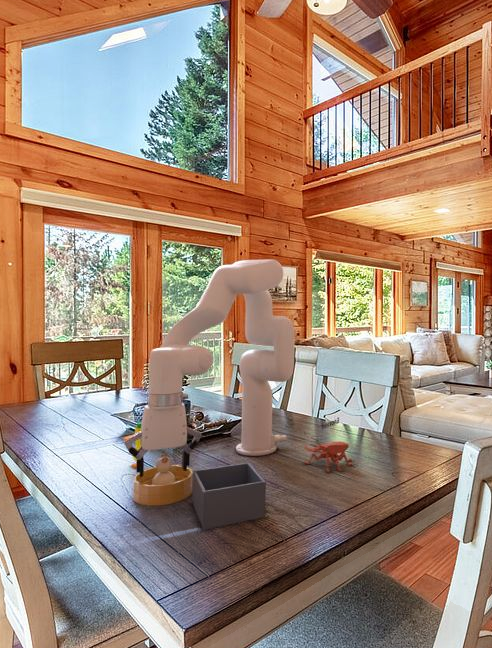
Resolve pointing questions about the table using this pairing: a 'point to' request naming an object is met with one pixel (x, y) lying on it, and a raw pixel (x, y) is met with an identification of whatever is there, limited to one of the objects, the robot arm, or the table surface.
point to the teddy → (163, 471)
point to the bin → (228, 495)
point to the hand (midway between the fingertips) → (163, 472)
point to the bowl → (162, 487)
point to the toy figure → (138, 442)
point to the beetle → (330, 450)
